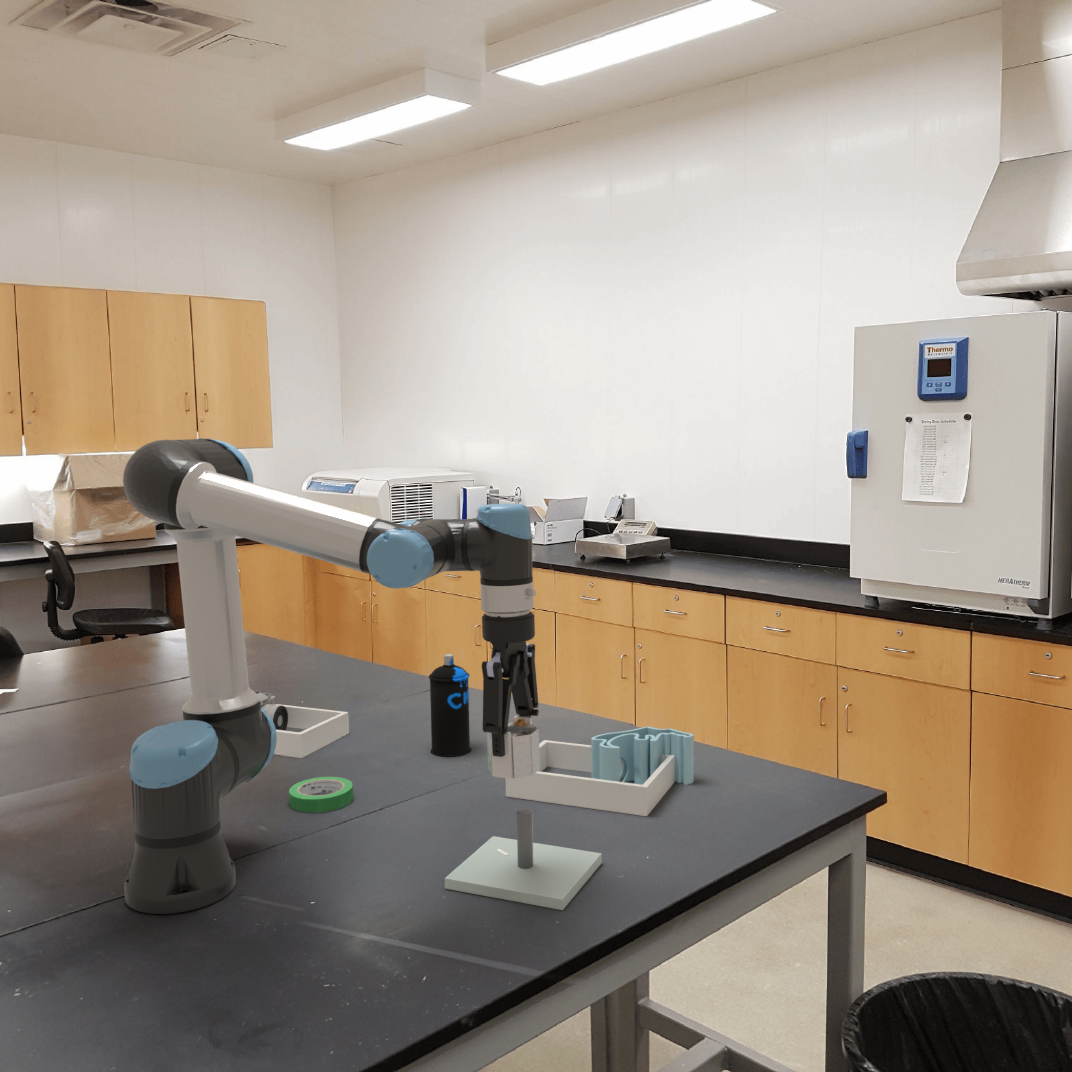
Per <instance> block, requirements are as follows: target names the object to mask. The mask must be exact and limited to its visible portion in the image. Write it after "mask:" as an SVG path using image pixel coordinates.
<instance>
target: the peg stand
mask: <svg viewBox="0 0 1072 1072" xmlns="http://www.w3.org/2000/svg"><path fill="white" fill-rule="evenodd" d="M533 822H534V818H533V810H531V809H524V808H522V809H520V810H518V811H516V839H512V838H507V837H506V838H505V837H501V836H496V835H493V836H491V837H490V838H489V839H488V840H486V842H485V843H483V844H482V845H481V846H480V847H478V849H476V850H475V851H474V852H473V853H472V854H470V855H469V857H467V858H466V859H465V860H464V861H462V863H460V864H459V865H458V866H457V867H456V868H455V869H453V870H452V871H451V872H450V873H449V874H448V875H447V876H445V877H444V889H446V890H450V891H457V892H461V893H468V894H472V895H479V896H483V897H484V896H485V897H487V898H488V897H489V898H494V899H499V900H505V901H511V902H516V903H521V904H526V905H531V906H532V905H533V906H537V907H538V906H539V907H542V908H543V907H544V908H548V909H549V908H550V909H553V910H559V911H563V910H564V909H565V908H566V907H567V906H568V904H569V903H570V902H571V901H572V900H573V898H574V897H576V895H577V894H578V893H579V891H580V890H581V889H582V888H583V886H584V885H585V884H586V883H587V882H588V881H589V880H590V878H591V877H592V875H594V873H595V872H596V871H597V870H598V868H599V867H600V866H601V865H602V864H603V862H602V861H603V857H602V856H603V855H602V852H595V851H588V850H582V849H576V848H570V847H563V846H557V845H550V844H545V843H539V842H534V824H533Z"/></svg>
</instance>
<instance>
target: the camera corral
mask: <svg viewBox="0 0 1072 1072" xmlns="http://www.w3.org/2000/svg"><path fill="white" fill-rule="evenodd" d="M275 704H276V705H282V706H285V707H286V709H287V712H288V724H287V728H290V729H291V728H293V729H300V730H302V731H299V732H297V731H291V730H285V731H283V730H276V735H277V742H276V748H275V751H274V754H273V755H277V756H282V757H291V758H298V759H299V758H300V759H303V758H305V757H306V756H308V755H310V754H312V753H314V752H316V751H318V750H320V749H322V748H324V747H326V746H327V745H329V744H332V743H333V742H335V741H337V740H339V739H342V738H343V737H345V736H347V735H348V734H350V721H349V719H350V718H349V711H341V710H331V709H322V708H314V707H303V706H295V705H288V704H277V703H275ZM346 734H347V735H346ZM342 736H343V737H342Z"/></svg>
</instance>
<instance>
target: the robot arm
mask: <svg viewBox="0 0 1072 1072" xmlns="http://www.w3.org/2000/svg"><path fill="white" fill-rule="evenodd" d="M122 484H123V491H124V493H125V494H124V495H125V496H126V498H127V500H128V502H129V504H130V505H131V506H132V507H133V508H134V509H135V510H136V512H138V513H139V514H141V515H142V516H144V517H146V518H148V519H150V520H153V521H157V522H160V523H163V526H164V527H163V528H164V532H165V533H166V534H168V535H169V536H170V537H171V538H173V539H174V541H175V542H176V550H177V560H178V571H179V580H180V582H179V583H180V591H181V592H180V593H181V601H182V613H183V622H184V633H185V643H186V652H187V663H188V673H189V685H190V691H191V692H190V697H189V698H187V700H186V702H185V703H184V704H183V705H182V717H183V720H178V721H177V720H176V721H172V722H168V724H167V723H166V725H165V724H164V725H157V726H155V727H152V728H151V729H148V730H147V731H145V732H144V733H142V734H141V735H139V736H138V737H137V738H136V740H135V741H134V742H133V743H132V747H131V749H130V763H129V769H128V770H129V775H130V776H129V777H130V779H131V796H132V799H131V800H132V813H133V828H134V848H133V852H132V856H131V859H130V864H129V867H128V872H127V873H128V874H127V875H126V877H125V880H124V888H123V889H124V902H125V903H126V905H127V906H128V907H129V908H130V909H132V910H135V911H136V912H140V913H145V914H155V915H167V914H178V913H185V912H189V911H194V910H197V909H201V908H203V907H208V906H209V905H212V904H215V903H216V902H218V901H220V900H222V899H224V898H225V897H226V896H228V895H229V894H230V893H231V892H232V891H233V890H234V888H235V886H236V883H237V880H236V879H237V876H236V875H237V874H236V866H235V863H234V861H233V859H232V858H231V857H230V854H229V849H228V848H227V844H226V842H225V838H224V836H223V834H222V829H221V828H222V827H221V808H220V807H221V805H220V803H221V802H220V801H221V799H222V798H223V797H226V796H227V795H228V794H230V793H231V792H233V791H234V790H236V789H237V788H239V787H241V786H243V784H245V783H249V782H250V781H252V779H254V778H256V777H257V776H258V775H259V773H261V772H262V770H263V769H264V768H266V767H267V766H268V764H269V763H270V761H271V760H272V758H273V756H274V755H275V754H274V751H275V748H276V742H277V735H276V729H275V725H274V723H273V720H272V719H271V717H270V716H268V715H267V714H266V713H265V712H266V711H265V710H264V709H263V708H261V702H260V696H259V695H258V694H256V693H255V692H254V691H255V690H253V689H252V688H250V684H249V673H248V671H249V670H248V662H247V651H246V650H247V649H246V641H245V630H244V620H243V609H242V608H243V607H242V598H241V588H240V587H241V585H240V575H239V565H238V553H237V544H236V541H237V540H236V537H240V538H243V539H247V540H250V541H254V542H257V543H261V544H264V545H268V546H272V547H275V548H278V549H282V550H283V551H284V550H285V551H289V552H292V553H294V554H297V555H298V554H299V555H303V556H305V557H308V558H312V559H316V560H320V561H323V562H326V563H330V564H333V565H337V566H340V567H345V568H347V569H351V570H354V571H358V572H361V573H365V574H368V575H371V577H372V578H374V580H375V581H376V582H378V583H379V584H380V585H382V586H383V587H386V588H389V589H395V590H396V589H405V588H410V587H414V586H415V585H418V584H420V583H421V582H423V581H425V580H427V579H430V578H432V577H434V576H437V575H439V574H440V573H444V572H476V571H478V572H479V576H480V577H479V578H480V579H479V580H480V582H479V583H480V609H481V610H482V611H483V612H484V613H483V615H482V616H481V626H482V627H481V629H482V630H481V631H482V638H483V640H484V641H486V642H489V643H490V644H491V645H492V650H491V653H490V654H491V656H490V658H491V659H490V661H487V660H486V661H484V660H483V661H482V663H481V671H482V678H483V679H482V680H483V682H482V684H483V685H482V687H483V688H482V689H483V690H482V731H483V733H486V734H487V733H491V746H492V773H493V775H492V777H493V778H500V779H501V778H502V779H505V778H509V779H510V778H511V777H512V760H511V732H507V729H508V723H509V719H510V709H511V703H512V702H511V699H513V704H514V709H515V714H516V715H514V716H513V717H512V718H513V720H512V721H513V722H515V721H517V720H518V719H525V723H530V724H533V717H538V716H539V709H538V708H539V695H538V685H537V683H538V682H537V672H536V670H537V669H536V660H535V658H536V645H535V644H534V643H527V642H528V641H531V640H533V639H534V638H535V636H536V630H535V629H536V626H535V614H534V612H532V611H531V610H533V608H534V607H535V606H534V597H535V596H536V593H537V591H536V590H535V589H534V577H533V535H534V534H533V533H532V525H531V523H532V522H531V516H530V515H531V514H530V509H529V508H528V506H526V505H525V504H522V503H515V502H514V503H489V504H482V505H481V506H479V507H478V509H477V515H476V517H475V518H466V519H465V518H464V519H463V518H462V519H461V518H460V519H459V518H456V519H455V518H454V519H452V518H451V519H449V518H447V519H446V518H438V519H437V518H434V519H433V518H431V519H430V518H422V517H421V518H418V519H408V520H403V521H401V522H400V523H397V522H394V521H390V520H386V519H381V518H379V517H375V516H372V515H368V514H365V513H362V512H361V513H360V512H357V511H355V510H351V509H348V508H344V507H341V506H336V505H333V504H329V503H325V502H322V501H318V500H315V499H311V498H307V497H304V496H300V495H298V494H297V495H296V494H294V493H290V492H286V491H284V490H280V489H276V488H272V487H269V486H264V485H261V484H258V483H254V473H253V471H252V467H251V465H250V463H249V461H248V459H247V458H246V456H245V455H244V454H243V453H242V451H240V450H239V449H238V448H237V447H236V446H234V445H233V444H231V443H229V442H225V441H223V440H218V439H211V438H202V437H201V438H192V439H159V440H155V441H151V442H148V443H146V444H144V445H142V446H140V447H139V448H138V449H136V450H135V452H134V453H133V454H132V455H130V458H129V459H128V461H127V462H126V463H125V466H124V470H123V476H122Z"/></svg>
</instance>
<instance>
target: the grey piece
mask: <svg viewBox="0 0 1072 1072" xmlns="http://www.w3.org/2000/svg"><path fill="white" fill-rule="evenodd" d="M507 732H511V760H512V777H511V779H513V778H514V779H515V778H521V777H526V776H532V775H534V774H535V773H536V772H537V771H539V770H540V752H539V744H540V731H539V727H537V726H536V725H534V724H533V723H532V724H530V723H525V719H518V720H517V721H515V722H508V729H507ZM486 746H487V765H488V766H487V767H488V772H489V773H490V774H491V776H493V773H492V746H491V733H486Z"/></svg>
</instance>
